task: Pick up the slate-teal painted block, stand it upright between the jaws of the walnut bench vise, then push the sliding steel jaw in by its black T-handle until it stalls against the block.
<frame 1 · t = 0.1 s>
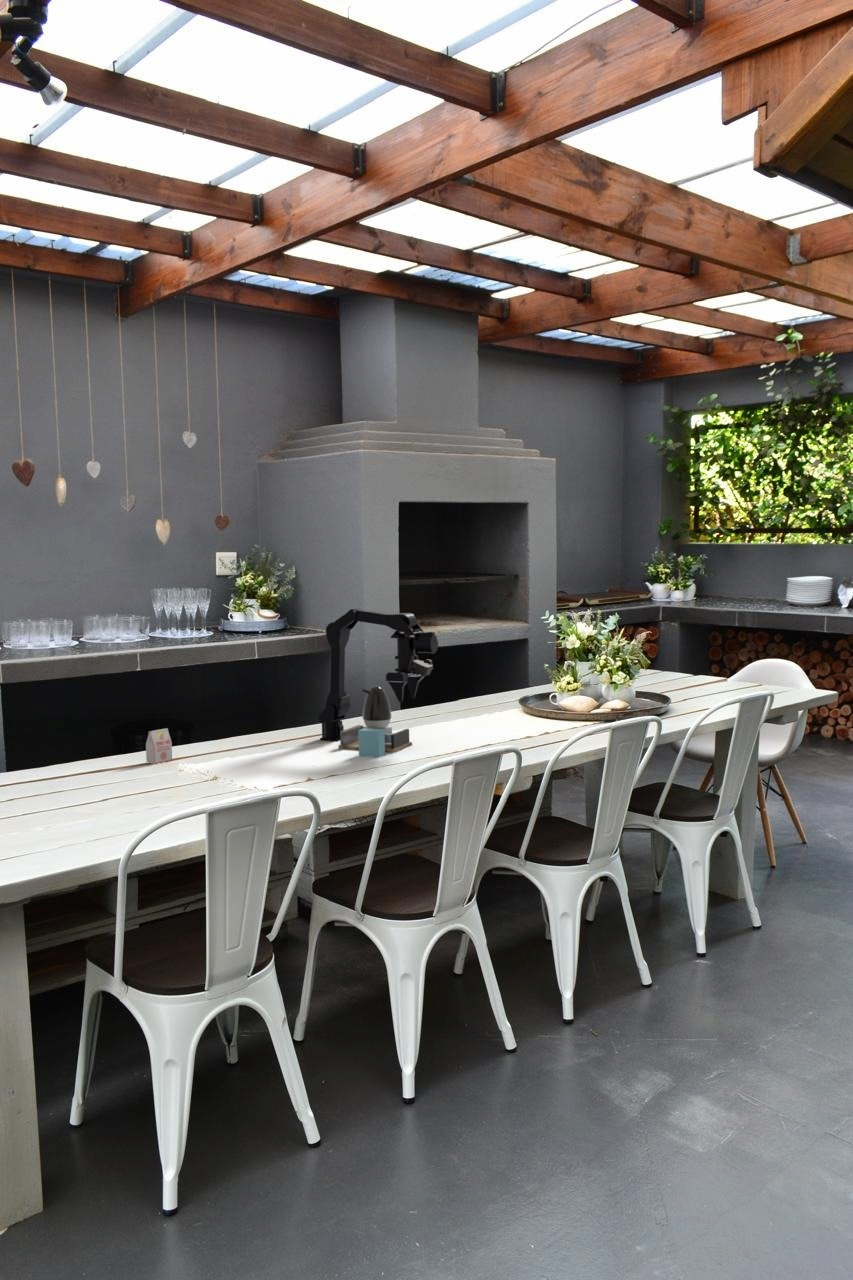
hand: (407, 700, 328), 15 cm above the table, tool pointing down, fingers open, 9 cm apart
workpiece block: (371, 755, 314), on the table
vise: (375, 746, 327), on the table
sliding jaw: (390, 737, 324), point 3 cm above the table, slide at 0.0 cm
pump dispenser: (377, 728, 360), on the table
white cardboard carton: (159, 762, 310), on the table
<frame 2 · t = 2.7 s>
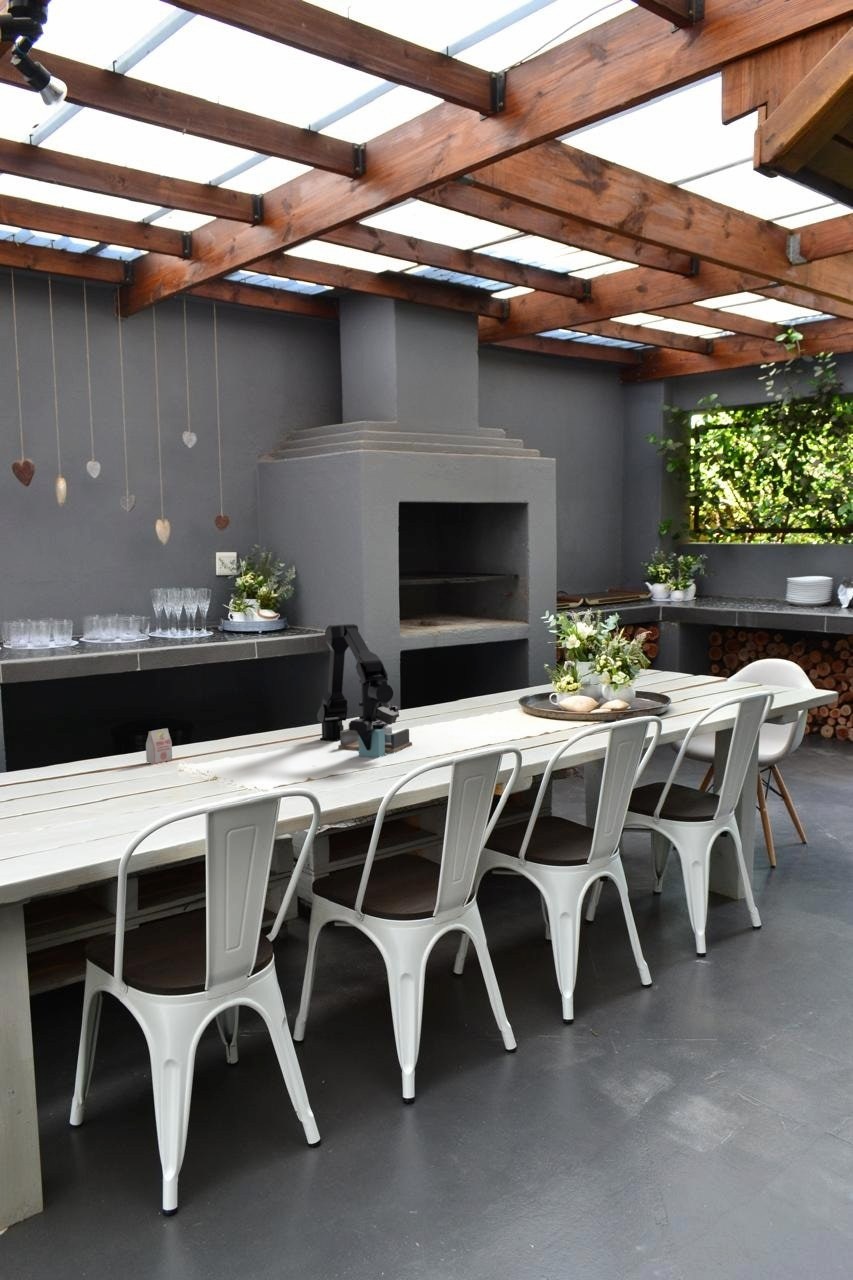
hand: (371, 748, 314), 2 cm above the table, tool pointing down, fingers closed on workpiece block, 4 cm apart
workpiece block: (372, 755, 314), on the table, touching gripper
everything else where it was.
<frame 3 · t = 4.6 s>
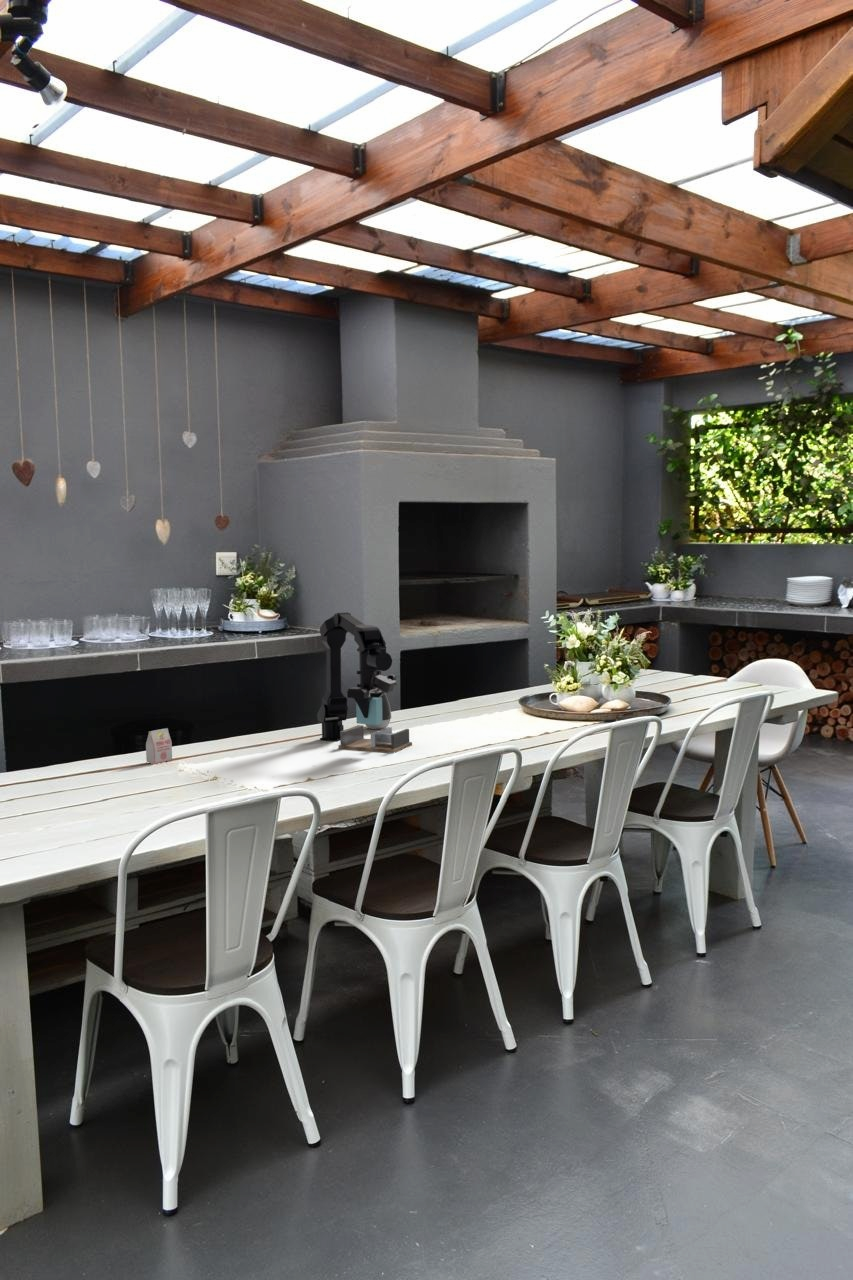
hand: (369, 716, 317), 11 cm above the table, tool pointing down, fingers closed on workpiece block, 4 cm apart
workpiece block: (369, 723, 317), point 9 cm above the table, touching gripper
everything else where it was.
when the fingers open (4 cm above the table, at t = 6.9 s): workpiece block drops 1 cm, resting on vise.
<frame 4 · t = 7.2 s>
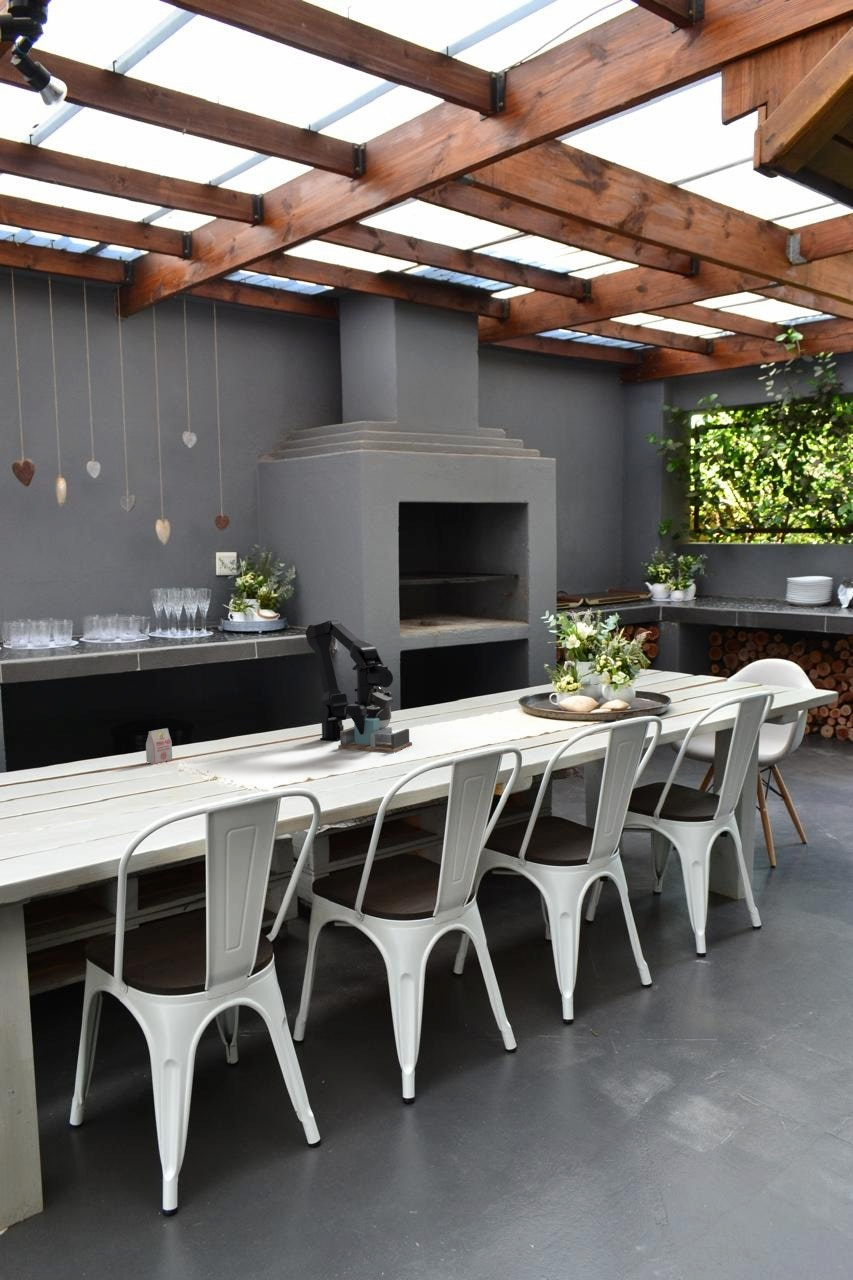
hand: (366, 732, 328), 4 cm above the table, tool pointing down, fingers open, 7 cm apart
workpiece block: (367, 743, 328), point 1 cm above the table, touching vise
everything else where it was.
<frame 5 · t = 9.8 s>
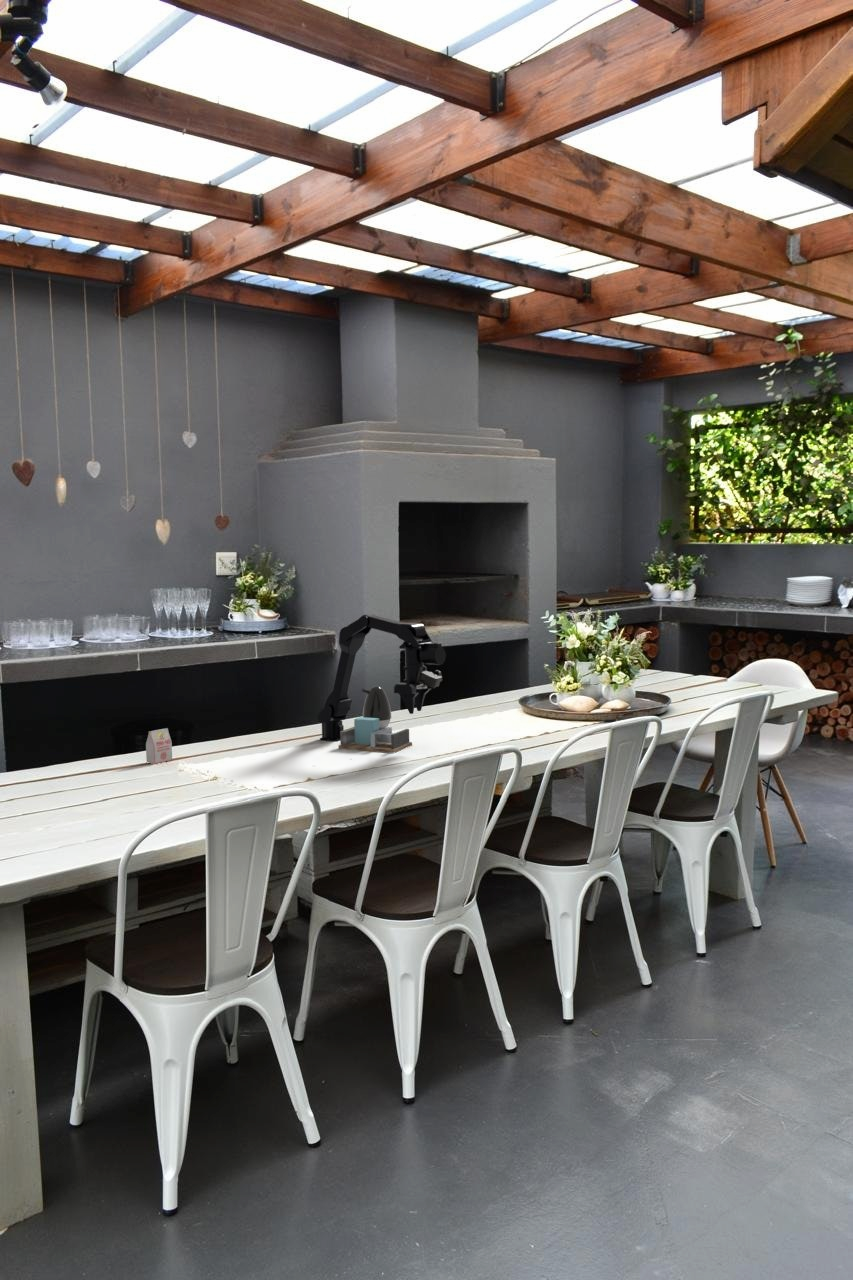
hand: (415, 712, 320), 12 cm above the table, tool pointing down, fingers open, 5 cm apart
nothing on the table moved.
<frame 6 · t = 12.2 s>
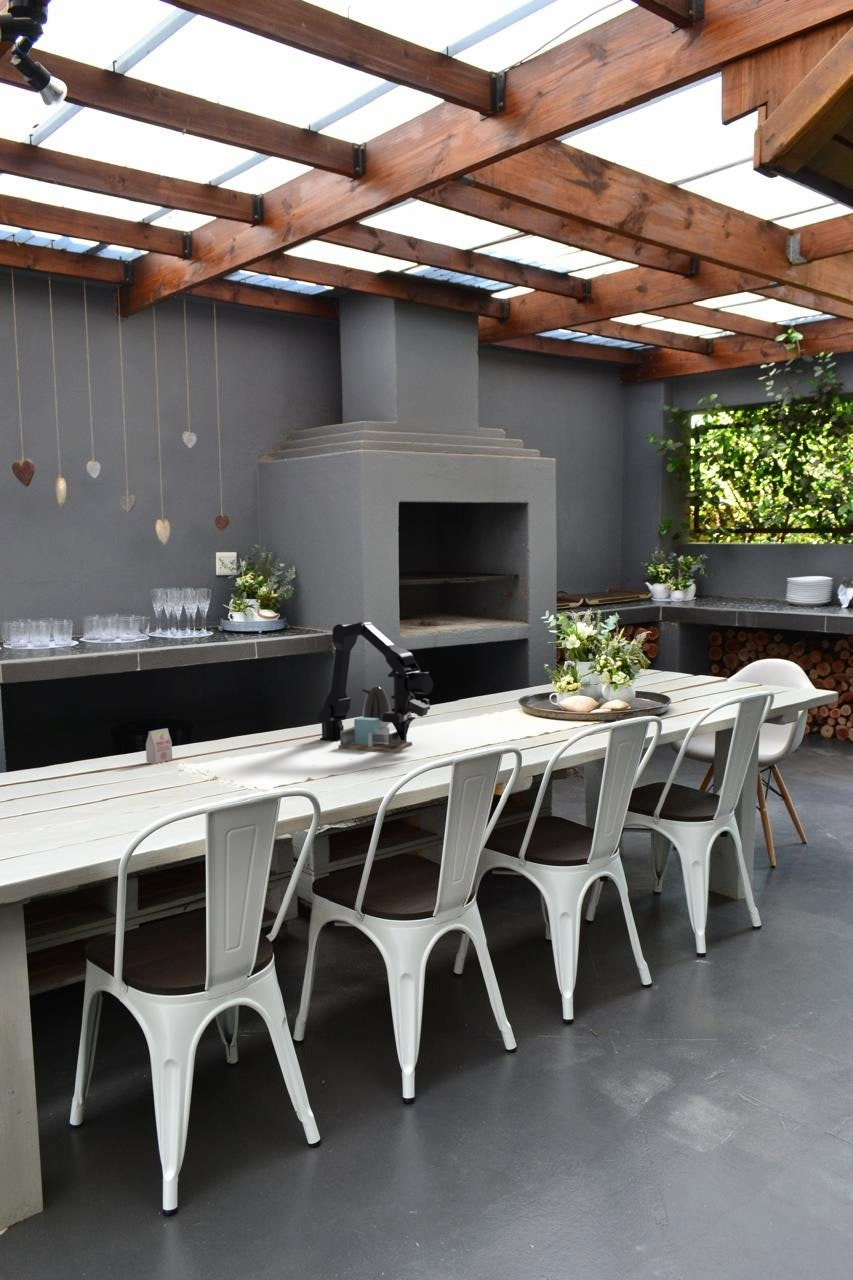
hand: (403, 740, 323), 3 cm above the table, tool pointing down, fingers closed, pressing on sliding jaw
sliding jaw: (387, 737, 325), point 3 cm above the table, slide at 1.0 cm, touching gripper
everything else where it was.
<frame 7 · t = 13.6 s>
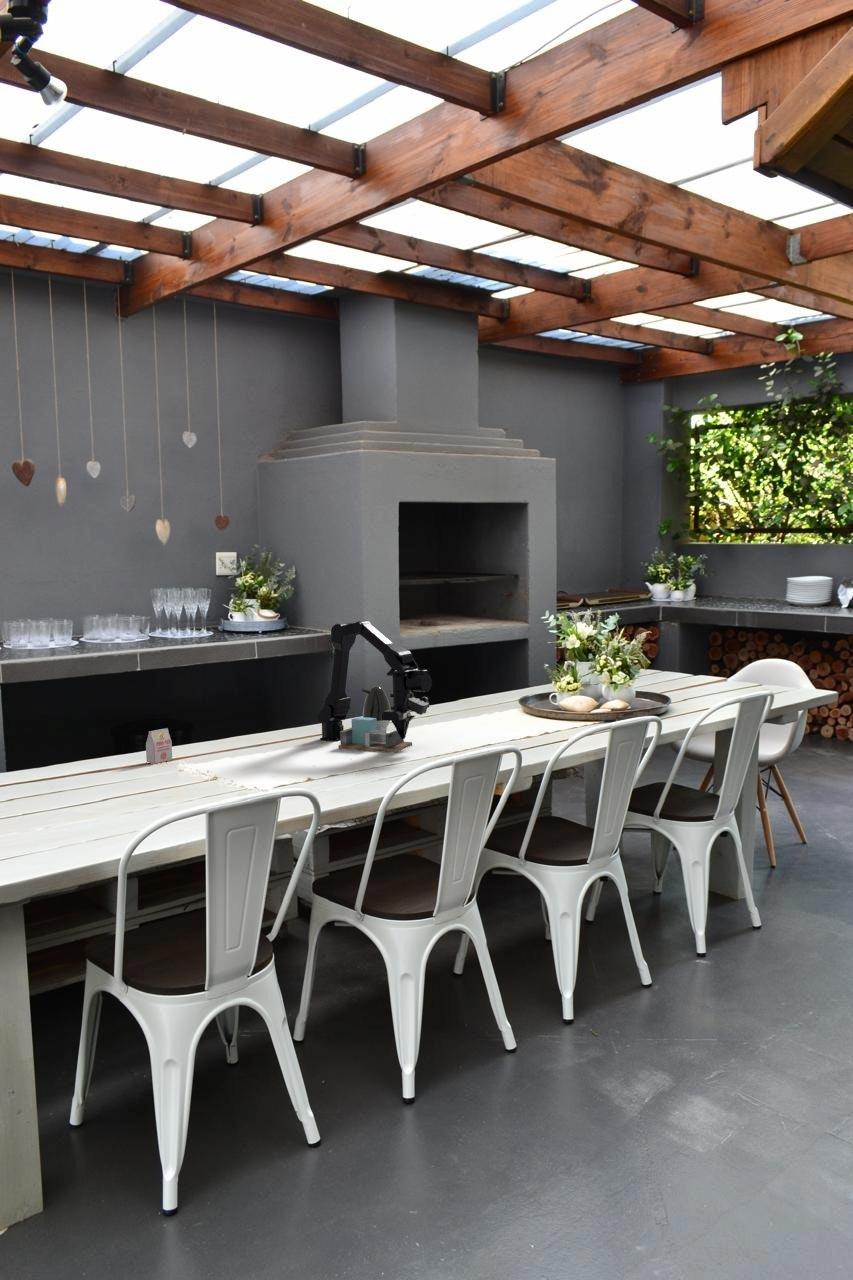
hand: (403, 738, 322), 3 cm above the table, tool pointing down, fingers closed
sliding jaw: (384, 737, 325), point 3 cm above the table, slide at 2.0 cm
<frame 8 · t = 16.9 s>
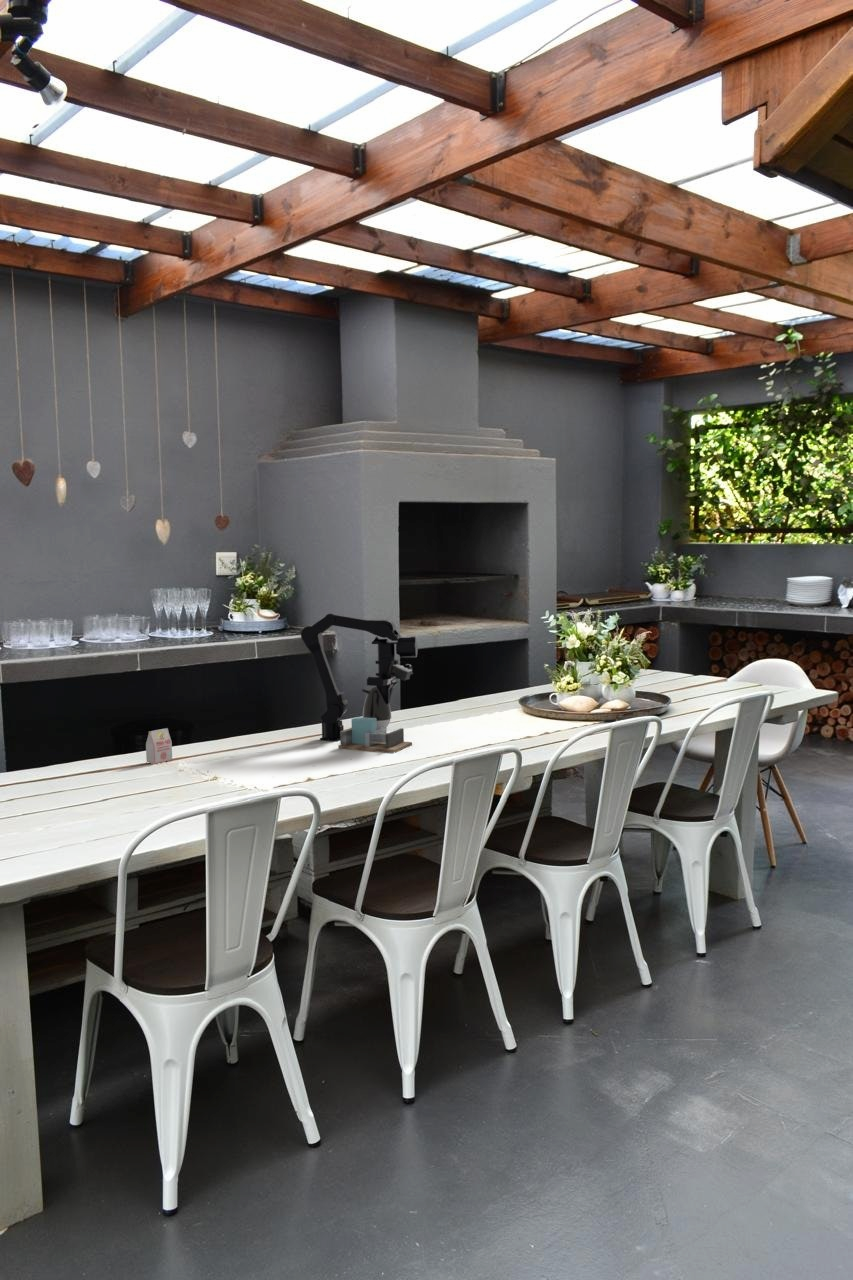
hand: (387, 703, 339), 12 cm above the table, tool pointing down, fingers closed
nothing on the table moved.
at the end: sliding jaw slide at 2.0 cm; workpiece block 0.3 cm from the target spot on the vise, point 1.0 cm above the vise's base; workpiece block tilted 0° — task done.
